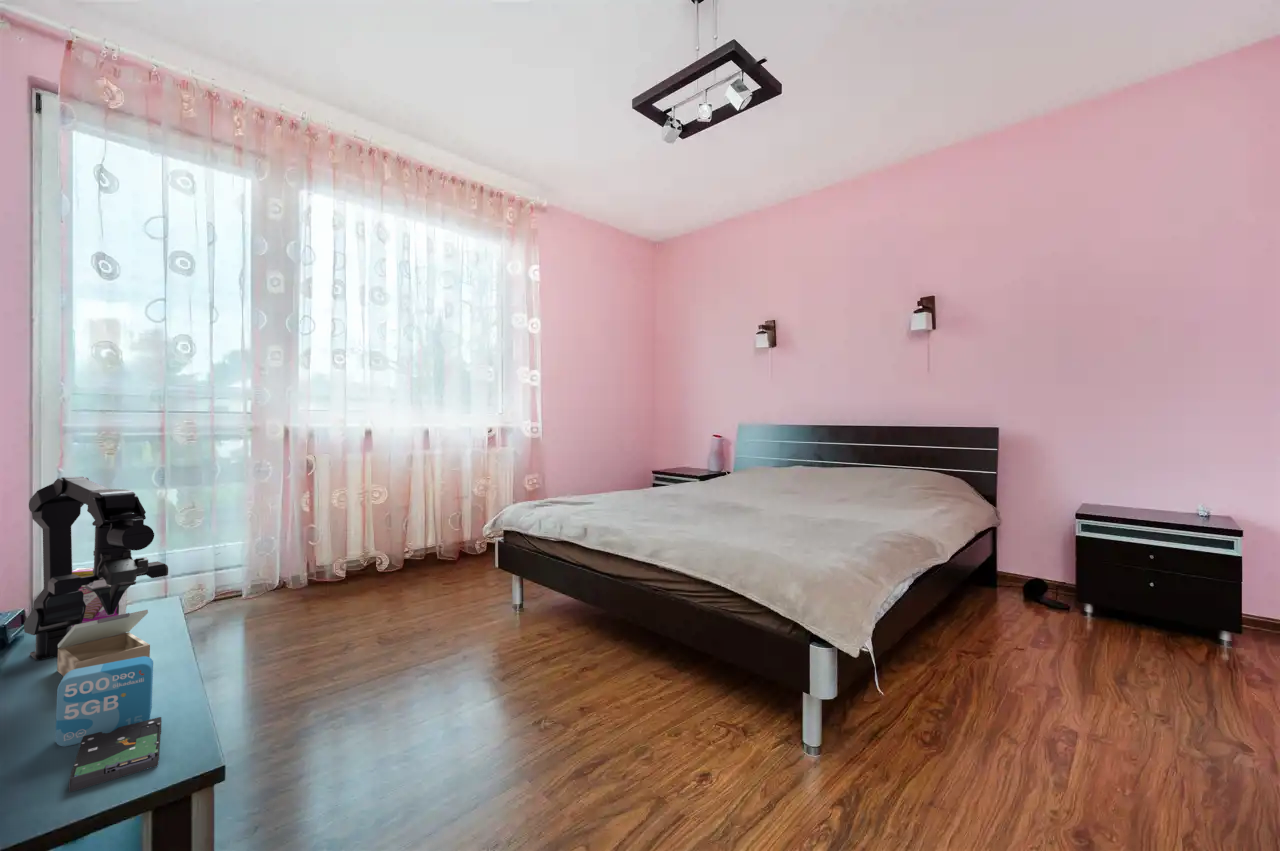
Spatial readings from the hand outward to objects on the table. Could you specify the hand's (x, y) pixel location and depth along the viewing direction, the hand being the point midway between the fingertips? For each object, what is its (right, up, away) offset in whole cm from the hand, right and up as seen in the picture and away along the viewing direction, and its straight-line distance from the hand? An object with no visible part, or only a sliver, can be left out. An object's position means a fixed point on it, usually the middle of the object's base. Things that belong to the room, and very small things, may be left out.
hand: (110, 614), depth 120 cm
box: (-3, -13, +1) cm, 13 cm away
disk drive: (+33, -14, -31) cm, 47 cm away
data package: (+23, -13, -24) cm, 36 cm away
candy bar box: (-30, -13, +26) cm, 42 cm away
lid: (-3, -4, +2) cm, 6 cm away
